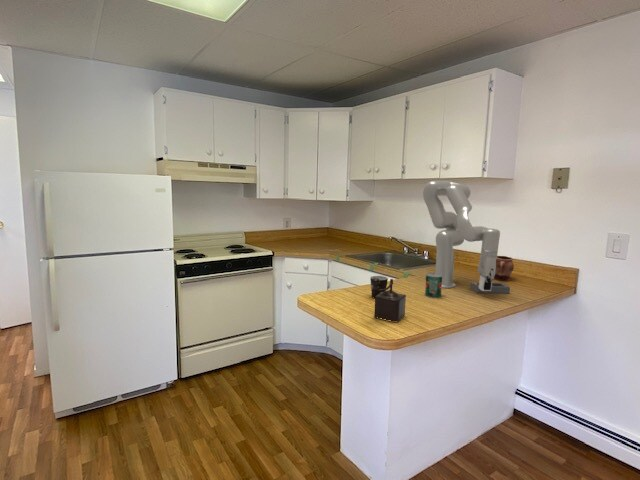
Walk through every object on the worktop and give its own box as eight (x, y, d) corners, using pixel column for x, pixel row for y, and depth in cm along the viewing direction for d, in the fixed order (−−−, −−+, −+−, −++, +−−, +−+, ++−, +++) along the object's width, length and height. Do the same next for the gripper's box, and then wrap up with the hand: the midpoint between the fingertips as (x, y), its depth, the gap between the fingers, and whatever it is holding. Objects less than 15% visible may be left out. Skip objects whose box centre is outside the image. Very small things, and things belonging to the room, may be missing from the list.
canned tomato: (443, 297, 181) (445, 276, 180) (429, 298, 180) (430, 276, 178) (436, 293, 189) (437, 272, 187) (422, 293, 188) (423, 273, 186)
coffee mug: (385, 300, 175) (386, 280, 174) (367, 298, 178) (368, 278, 177) (389, 294, 186) (390, 275, 184) (372, 292, 189) (373, 273, 187)
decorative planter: (513, 284, 208) (515, 261, 206) (490, 282, 213) (491, 259, 212) (511, 277, 226) (513, 255, 224) (490, 275, 231) (491, 253, 229)
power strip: (476, 293, 190) (477, 285, 190) (465, 284, 206) (465, 278, 206) (509, 293, 190) (510, 286, 189) (495, 285, 206) (495, 278, 205)
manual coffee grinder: (381, 310, 161) (382, 271, 158) (405, 315, 155) (407, 274, 152) (367, 321, 147) (368, 278, 145) (393, 327, 142) (395, 282, 139)
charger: (482, 290, 182) (483, 277, 181) (478, 288, 186) (480, 274, 185) (490, 291, 182) (492, 277, 181) (487, 288, 186) (488, 275, 185)
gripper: (474, 249, 189) (471, 283, 192) (488, 256, 173) (484, 293, 176) (489, 250, 189) (485, 283, 192) (504, 257, 172) (499, 293, 176)
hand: (484, 287), depth 184 cm, fingers closed on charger, 4 cm apart
